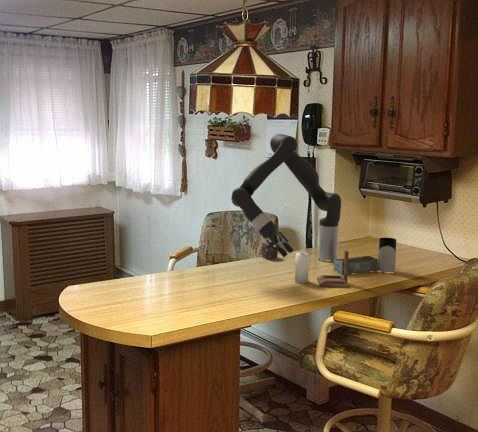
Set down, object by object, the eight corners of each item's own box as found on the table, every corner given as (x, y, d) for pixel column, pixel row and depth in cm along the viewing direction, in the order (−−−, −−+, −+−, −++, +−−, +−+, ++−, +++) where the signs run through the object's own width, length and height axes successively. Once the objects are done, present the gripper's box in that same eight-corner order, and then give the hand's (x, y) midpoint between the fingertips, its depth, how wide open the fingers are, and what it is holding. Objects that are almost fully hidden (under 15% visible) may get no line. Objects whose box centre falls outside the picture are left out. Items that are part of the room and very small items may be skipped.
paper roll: (294, 279, 252) (295, 251, 250) (307, 279, 252) (308, 252, 250) (295, 283, 247) (296, 254, 245) (308, 283, 247) (309, 255, 245)
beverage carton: (332, 271, 267) (333, 257, 266) (368, 268, 274) (369, 254, 273) (342, 275, 260) (342, 261, 259) (378, 272, 267) (379, 258, 266)
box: (261, 257, 293) (261, 242, 292) (271, 256, 296) (272, 241, 295) (266, 259, 288) (267, 245, 287) (277, 258, 290) (278, 244, 289)
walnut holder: (316, 279, 253) (318, 247, 251) (344, 279, 253) (346, 248, 251) (319, 287, 241) (321, 253, 239) (349, 287, 241) (350, 254, 239)
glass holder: (376, 272, 265) (377, 240, 263) (376, 265, 279) (378, 234, 276) (396, 274, 263) (398, 241, 261) (395, 266, 277) (397, 235, 274)
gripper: (264, 222, 244) (290, 251, 242) (275, 217, 257) (299, 245, 255) (252, 233, 247) (277, 263, 245) (263, 228, 260) (287, 255, 258)
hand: (289, 253), depth 250 cm, fingers open, 8 cm apart
